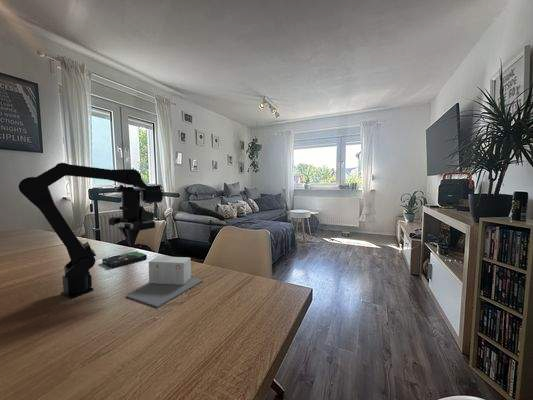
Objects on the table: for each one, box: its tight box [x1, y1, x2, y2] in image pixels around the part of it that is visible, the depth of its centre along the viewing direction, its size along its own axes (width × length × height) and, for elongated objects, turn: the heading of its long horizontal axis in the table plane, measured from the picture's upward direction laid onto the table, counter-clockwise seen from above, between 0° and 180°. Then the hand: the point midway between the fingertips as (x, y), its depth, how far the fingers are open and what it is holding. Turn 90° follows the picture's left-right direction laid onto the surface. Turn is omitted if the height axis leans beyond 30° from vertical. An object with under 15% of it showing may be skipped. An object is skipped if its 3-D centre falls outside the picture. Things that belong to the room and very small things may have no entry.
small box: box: [148, 255, 192, 285], centre depth 85 cm, size 8×6×13 cm
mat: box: [125, 277, 204, 309], centre depth 80 cm, size 20×14×1 cm
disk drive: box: [101, 251, 148, 270], centre depth 105 cm, size 10×3×15 cm
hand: (132, 245), depth 86 cm, fingers closed
